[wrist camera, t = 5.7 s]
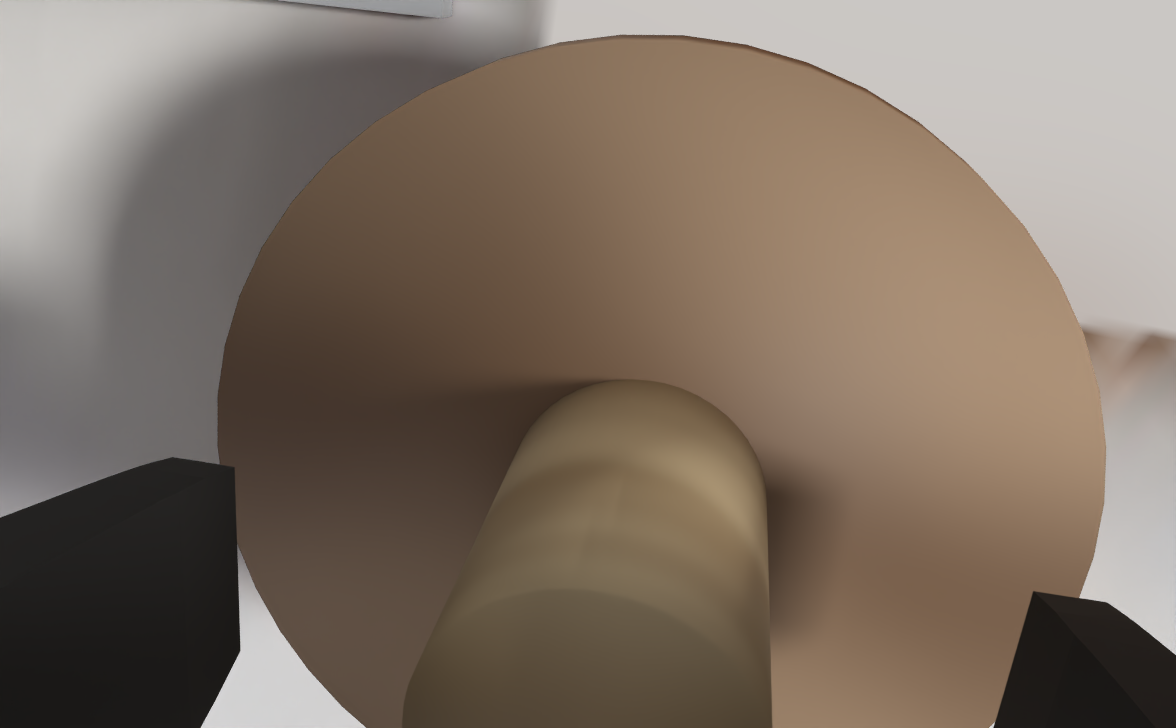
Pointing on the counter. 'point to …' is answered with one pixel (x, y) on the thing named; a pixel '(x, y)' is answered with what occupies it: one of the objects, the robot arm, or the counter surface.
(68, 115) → the counter surface
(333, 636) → the lid
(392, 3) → the mat
